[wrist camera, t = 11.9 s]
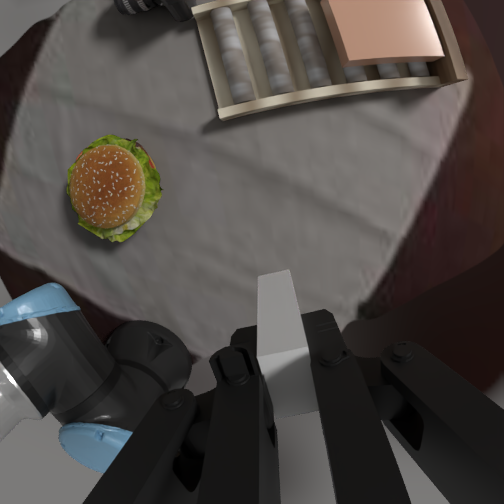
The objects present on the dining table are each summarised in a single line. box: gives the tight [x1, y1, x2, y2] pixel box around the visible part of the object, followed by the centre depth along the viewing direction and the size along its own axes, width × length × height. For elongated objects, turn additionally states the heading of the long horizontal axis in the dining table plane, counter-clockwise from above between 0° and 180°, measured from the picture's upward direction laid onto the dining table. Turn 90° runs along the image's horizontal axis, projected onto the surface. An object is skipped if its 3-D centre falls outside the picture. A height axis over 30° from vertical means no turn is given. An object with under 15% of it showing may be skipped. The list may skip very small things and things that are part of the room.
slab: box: [320, 0, 445, 68], centre depth 31 cm, size 14×10×4 cm
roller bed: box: [191, 0, 468, 121], centre depth 33 cm, size 33×17×8 cm, turn 104°
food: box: [67, 135, 164, 242], centre depth 39 cm, size 14×14×8 cm
